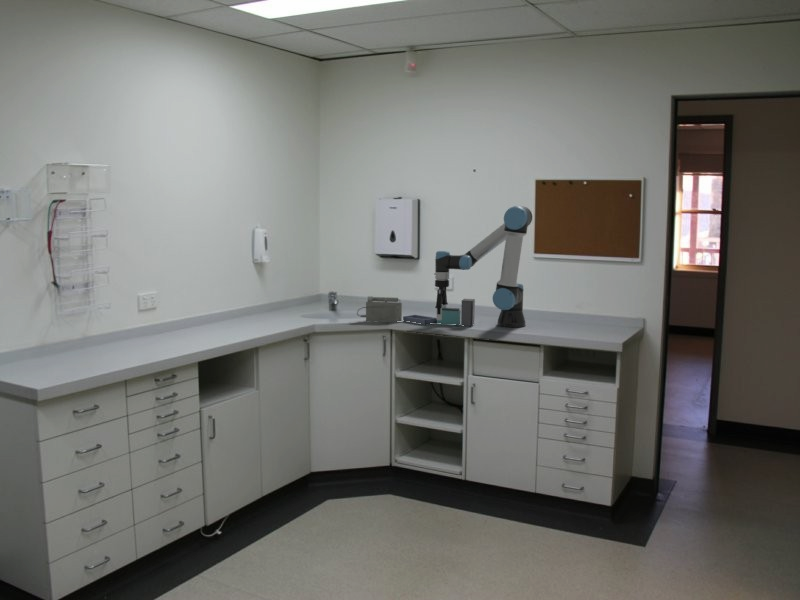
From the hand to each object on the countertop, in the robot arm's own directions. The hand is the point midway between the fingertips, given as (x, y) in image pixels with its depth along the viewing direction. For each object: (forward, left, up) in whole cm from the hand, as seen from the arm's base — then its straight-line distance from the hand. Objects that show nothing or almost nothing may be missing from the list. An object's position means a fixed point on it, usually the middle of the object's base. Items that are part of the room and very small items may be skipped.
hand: (441, 318), depth 409 cm
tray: (+11, +5, -3) cm, 13 cm away
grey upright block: (-13, -7, -3) cm, 15 cm away
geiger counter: (+29, +19, -3) cm, 35 cm away
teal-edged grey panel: (-4, -2, -3) cm, 5 cm away
